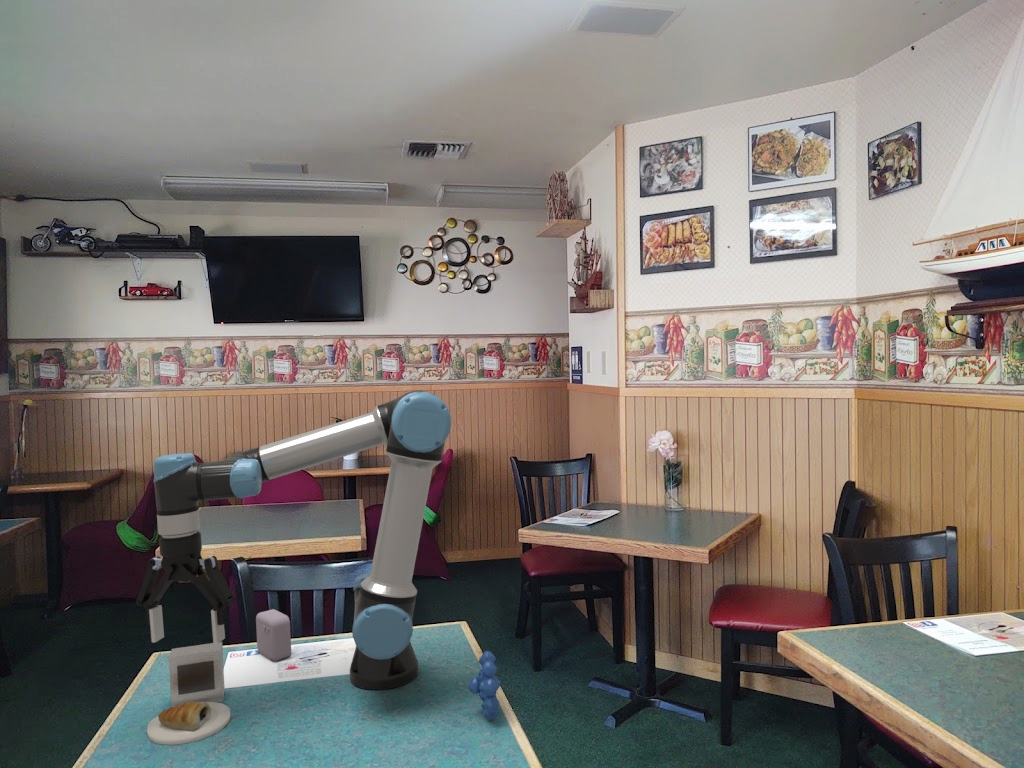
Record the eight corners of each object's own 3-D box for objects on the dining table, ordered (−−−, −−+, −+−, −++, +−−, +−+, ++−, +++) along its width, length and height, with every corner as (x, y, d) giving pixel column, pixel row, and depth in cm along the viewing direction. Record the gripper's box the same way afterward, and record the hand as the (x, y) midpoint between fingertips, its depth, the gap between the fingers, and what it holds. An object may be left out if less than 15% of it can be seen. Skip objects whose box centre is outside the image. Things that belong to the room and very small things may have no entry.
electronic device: (255, 652, 183) (253, 612, 183) (273, 647, 186) (271, 607, 186) (273, 663, 176) (271, 622, 175) (291, 658, 179) (289, 616, 179)
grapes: (466, 702, 152) (464, 644, 151) (499, 699, 152) (497, 641, 152) (469, 730, 140) (467, 667, 140) (505, 727, 141) (503, 664, 140)
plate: (245, 709, 152) (245, 703, 152) (200, 747, 137) (199, 740, 137) (180, 705, 155) (180, 699, 155) (129, 741, 141) (129, 734, 140)
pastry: (150, 730, 142) (149, 711, 142) (170, 714, 148) (169, 695, 148) (197, 731, 141) (196, 711, 141) (215, 715, 147) (214, 696, 147)
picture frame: (224, 691, 161) (222, 641, 161) (223, 702, 156) (220, 650, 156) (174, 699, 158) (171, 648, 158) (171, 710, 153) (168, 657, 153)
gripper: (248, 527, 146) (256, 634, 147) (137, 529, 152) (146, 632, 152) (225, 537, 139) (234, 649, 140) (110, 539, 144) (119, 646, 145)
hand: (188, 640), depth 146 cm, fingers open, 13 cm apart
